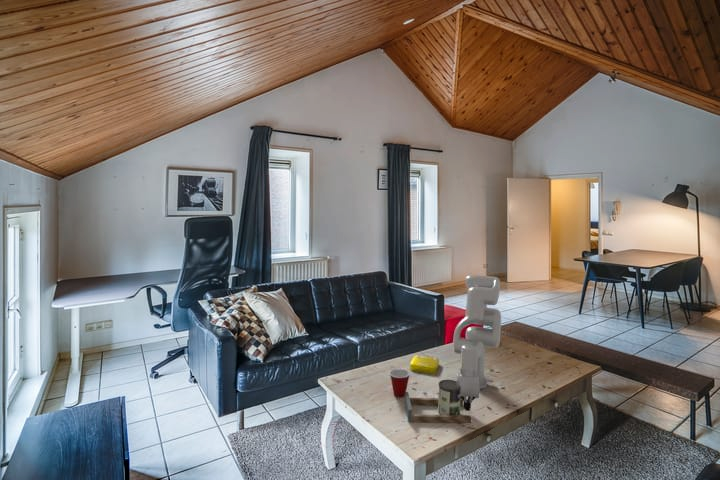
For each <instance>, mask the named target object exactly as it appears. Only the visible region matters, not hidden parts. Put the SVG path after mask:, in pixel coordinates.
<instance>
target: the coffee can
mask: <svg viewBox="0 0 720 480" xmlns="http://www.w3.org/2000/svg"><path fill="white" fill-rule="evenodd" d="M456 382H457V380H453V379H443V380H440V381H439V382H438V398H439V399H438V406H437V407H438V408H437V409H438V410H437V413H438V414H437V415H461V406H460V401H461V396H460V391H461V390H460V389H461V387H458V386H457V384H456Z"/></svg>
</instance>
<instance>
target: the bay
mask: <svg viewBox="0 0 720 480" xmlns="http://www.w3.org/2000/svg"><path fill="white" fill-rule="evenodd" d="M438 399H439V397H438V398H435V397H410V393H409V391H406V392H405V396H404V407H405V412H406V417H407V422H408V423H416V424H417V423H420V424H421V423H422V424H423V423H424V424H465V423H471V424H472V415H470V414H469V415H468V414H460V415H439V414H413V409H412V406H429V407H430V406H431V407H432V406H433V407H438ZM463 405H464V401H463V400H462V399H461V401H460V407H464V406H463Z"/></svg>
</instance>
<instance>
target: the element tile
mask: <svg viewBox="0 0 720 480" xmlns="http://www.w3.org/2000/svg"><path fill="white" fill-rule="evenodd" d="M439 366H440V359H439V357H434V356H426V355H420V354H415V355H414V356H413V358H412V360H411V361H410V364H409V367H410V369H409V370H410V371H412V372H417V373H424V374H430V375H435V374H436V373H437V370H438V369H439Z"/></svg>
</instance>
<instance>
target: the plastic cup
mask: <svg viewBox="0 0 720 480" xmlns="http://www.w3.org/2000/svg"><path fill="white" fill-rule="evenodd" d="M388 374H389V377H390V380H391V385H392V391H393V392H392V393H393V395H394V397H396V398H405V392H407V389H408V388H407V387H408V383H409V378H410V376H411V372H410V371H409V370H407V369H403V368H396V369H392V370H390V371H389V372H388Z"/></svg>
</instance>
